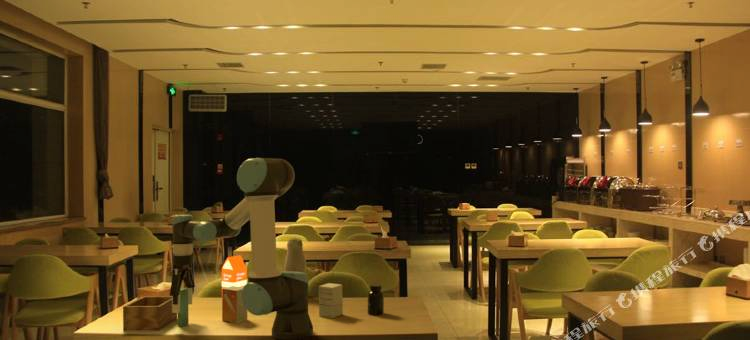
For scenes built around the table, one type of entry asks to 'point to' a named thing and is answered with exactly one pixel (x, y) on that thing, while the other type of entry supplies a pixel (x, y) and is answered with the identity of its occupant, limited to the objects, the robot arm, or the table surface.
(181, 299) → the peg
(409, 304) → the table surface
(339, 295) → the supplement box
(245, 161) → the robot arm
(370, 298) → the supplement bottle
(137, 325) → the crate
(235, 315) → the small box
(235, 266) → the orange juice
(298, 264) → the beige tapered cylinder
